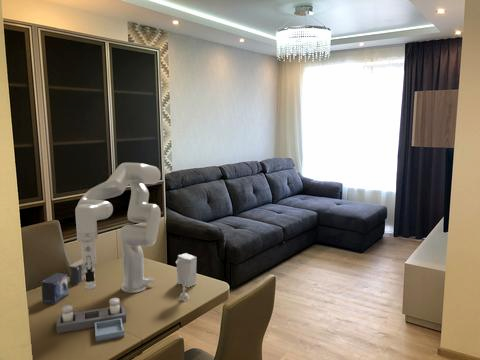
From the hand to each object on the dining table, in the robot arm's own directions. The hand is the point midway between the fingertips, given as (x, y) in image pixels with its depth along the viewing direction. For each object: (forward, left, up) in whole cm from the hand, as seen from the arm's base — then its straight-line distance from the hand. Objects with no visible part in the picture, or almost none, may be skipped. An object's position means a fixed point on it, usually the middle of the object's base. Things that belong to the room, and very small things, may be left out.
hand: (90, 278), depth 161 cm
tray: (-6, +11, -19) cm, 22 cm away
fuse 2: (-9, 0, -19) cm, 21 cm away
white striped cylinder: (0, 0, -4) cm, 4 cm away
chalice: (-40, -7, -19) cm, 45 cm away
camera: (+5, -45, -19) cm, 49 cm away
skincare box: (-45, -22, -19) cm, 53 cm away
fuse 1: (+9, 0, -19) cm, 21 cm away
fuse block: (0, 0, -19) cm, 19 cm away
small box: (+15, -27, -19) cm, 36 cm away
